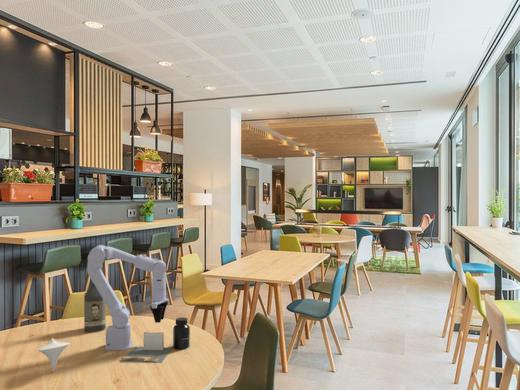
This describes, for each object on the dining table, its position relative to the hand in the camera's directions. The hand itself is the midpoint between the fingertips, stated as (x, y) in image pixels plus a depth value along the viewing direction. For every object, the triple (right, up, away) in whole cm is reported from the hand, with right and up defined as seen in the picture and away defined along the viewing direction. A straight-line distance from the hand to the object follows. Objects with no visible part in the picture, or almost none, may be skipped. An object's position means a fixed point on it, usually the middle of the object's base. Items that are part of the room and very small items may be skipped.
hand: (159, 320), depth 175 cm
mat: (-2, -10, -13) cm, 16 cm away
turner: (-3, -9, -18) cm, 21 cm away
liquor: (-36, -11, +21) cm, 43 cm away
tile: (0, -9, -8) cm, 12 cm away
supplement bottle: (+10, -10, -5) cm, 15 cm away
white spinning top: (-31, -10, -28) cm, 43 cm away
